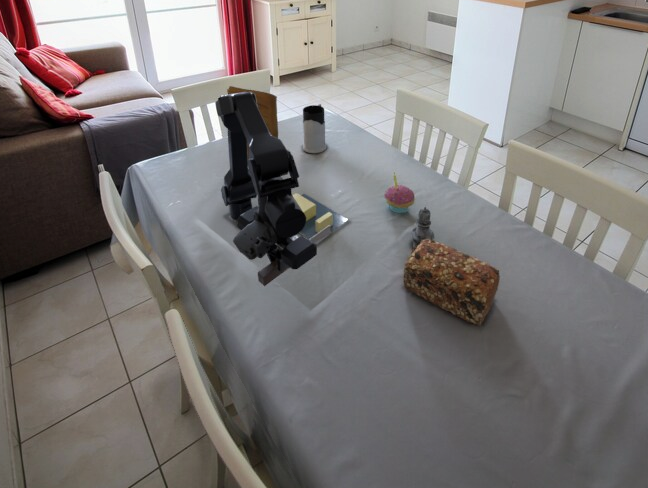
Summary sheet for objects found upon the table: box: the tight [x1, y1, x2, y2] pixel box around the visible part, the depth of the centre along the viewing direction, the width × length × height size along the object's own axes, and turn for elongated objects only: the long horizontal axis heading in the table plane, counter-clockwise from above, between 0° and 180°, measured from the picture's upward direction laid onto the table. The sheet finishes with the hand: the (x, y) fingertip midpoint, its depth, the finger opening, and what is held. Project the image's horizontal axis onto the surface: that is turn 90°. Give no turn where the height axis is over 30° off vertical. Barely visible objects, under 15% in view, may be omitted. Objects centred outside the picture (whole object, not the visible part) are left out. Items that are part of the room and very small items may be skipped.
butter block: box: [292, 192, 316, 221], centre depth 119 cm, size 8×5×4 cm, turn 49°
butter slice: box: [315, 212, 333, 233], centre depth 113 cm, size 2×5×4 cm, turn 139°
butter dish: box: [300, 193, 349, 239], centre depth 119 cm, size 18×12×1 cm, turn 49°
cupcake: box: [384, 172, 416, 214], centre depth 121 cm, size 9×8×12 cm
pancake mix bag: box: [226, 85, 279, 159], centre depth 139 cm, size 7×19×28 cm, turn 58°
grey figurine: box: [410, 206, 435, 250], centre depth 108 cm, size 6×6×12 cm
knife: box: [257, 225, 332, 287], centre depth 94 cm, size 2×20×2 cm, turn 139°
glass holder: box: [302, 103, 328, 154], centre depth 156 cm, size 9×14×15 cm, turn 170°
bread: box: [403, 239, 501, 327], centre depth 94 cm, size 19×11×10 cm, turn 54°
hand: (277, 267), depth 90 cm, fingers closed on knife, 2 cm apart
